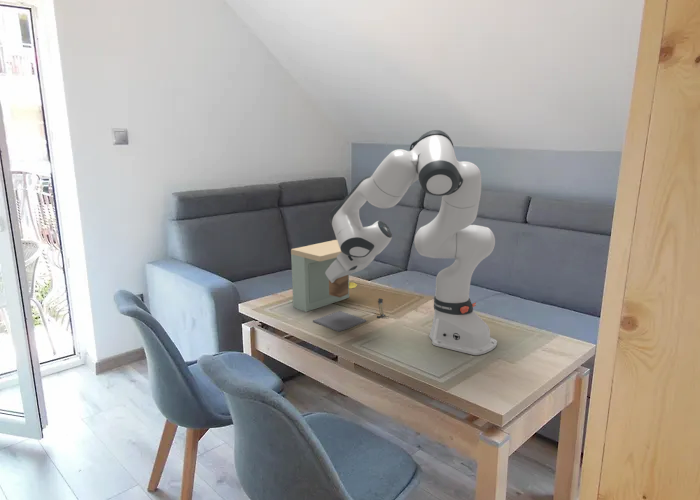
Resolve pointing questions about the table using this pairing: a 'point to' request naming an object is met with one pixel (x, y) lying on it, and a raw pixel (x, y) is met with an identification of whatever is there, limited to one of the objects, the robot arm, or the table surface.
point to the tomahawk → (381, 309)
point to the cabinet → (313, 275)
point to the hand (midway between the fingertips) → (337, 278)
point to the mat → (339, 321)
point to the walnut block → (339, 287)
